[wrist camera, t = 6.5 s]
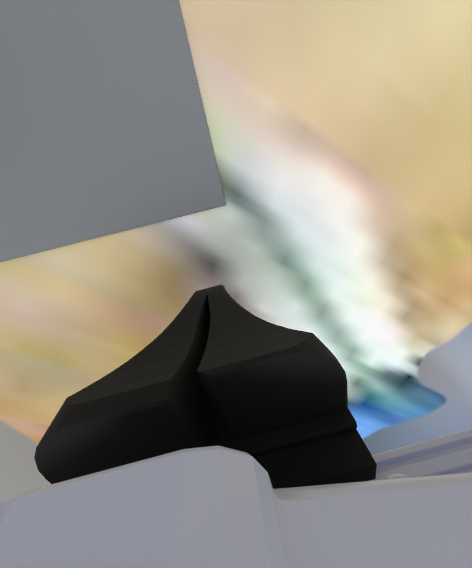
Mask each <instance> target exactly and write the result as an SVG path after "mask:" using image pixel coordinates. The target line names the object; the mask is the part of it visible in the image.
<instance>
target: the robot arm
mask: <svg viewBox="0 0 472 568" xmlns="http://www.w3.org/2000/svg"><path fill="white" fill-rule="evenodd" d="M356 428H357V424H356V421H355V419H354V418H353V416H352V414H351V413H350V411H349V409H348V398H347V378H346V374H345V371H344V369H343V368H342V366H341V364H340V363H339V362H338V360H337V359H336V357H335V356H334V355H333V354H332V353H331V351H330V350H329V349H328V348H327V347H326V346H325V345H324V344H323V343H322V342H321V341H320V340H319V339H318V338H317V337H316V336H315V335H314V334H313V333H309V332H304V331H298V330H293V329H288V328H285V327H281V326H278V325H275V324H272V323H269V322H267V321H265V320H262V319H260V318H258V317H256V316H255V315H253V314H251V313H250V312H248V311H247V310H245V309H244V308H243V307H242V306H240V305H239V304H238V303H237V302H236V301H235V300H234V299H233V298H232V297H231V296H230V295H229V294H228V293H227V291H226V290H225V287H224V286H223V285H218V286H214V287H210V288H207V289H203V290H199V291H196V292H195V293H194V294H193V296H192V297H191V298H190V300H189V301H188V303H187V304H186V305H185V307H184V308H183V309H182V311H181V312H180V313H179V314H178V315H177V317H176V318H175V319H174V320H173V321H172V323H171V324H170V325H169V326H168V327H167V328H166V329H165V330H164V331H163V332H162V333H161V334H160V335H159V336H158V337H157V338H156V339H155V340H154V341H153V342H151V343H150V344H149V345H148V346H147V347H145V348H144V349H143V350H142V351H140V352H139V353H138V354H137V355H135V356H134V357H133V358H131V359H130V360H129V361H127V362H126V363H124V364H123V365H122V366H120V367H119V368H117V369H115V370H114V371H112V372H111V373H109V374H108V375H106V376H105V377H103V378H101V379H100V380H98V381H96V382H94V383H93V384H91V385H89V386H87V387H86V388H84V389H82V390H80V391H79V392H77V393H75V394H73V395H72V396H70V397H68V398H66V400H65V402H64V403H63V405H62V407H61V408H60V410H59V412H58V413H57V415H56V416H55V418H54V420H53V421H52V423H51V425H50V426H49V428H48V430H47V431H46V433H45V434H44V436H43V438H42V439H41V441H40V443H39V444H38V446H37V447H36V452H35V461H36V465H37V468H38V470H39V472H40V473H41V474H42V475H43V476H44V477H45V478H46V480H48V481H49V482H50V483H51V485H47V486H44V487H40V488H36V489H33V490H29V491H26V492H24V493H21V494H20V495H17V496H15V497H13V498H11V499H9V500H7V501H5V502H3V503H1V504H0V568H472V428H471V429H468V430H464V431H461V432H457V433H453V434H449V435H445V436H442V437H438V438H434V439H430V440H427V441H423V442H419V443H416V444H412V445H408V446H405V447H401V448H397V449H393V450H390V451H386V452H383V453H379V454H375V455H371V454H370V452H369V450H368V448H367V447H366V445H365V443H364V442H363V440H362V438H361V436H360V435H359V433H358V431H357V430H356Z"/></svg>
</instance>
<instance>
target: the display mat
mask: <svg viewBox="0 0 472 568" xmlns="http://www.w3.org/2000/svg"><path fill="white" fill-rule="evenodd" d="M224 205H226V203H225V199H224V194H223V190H222V186H221V181H220V177H219V173H218V169H217V164H216V160H215V156H214V151H213V147H212V143H211V138H210V134H209V130H208V125H207V121H206V117H205V113H204V108H203V104H202V100H201V95H200V91H199V87H198V82H197V78H196V74H195V69H194V65H193V61H192V57H191V52H190V48H189V44H188V39H187V35H186V31H185V26H184V22H183V18H182V14H181V9H180V5H179V1H178V0H0V262H2V261H6V260H10V259H14V258H18V257H22V256H26V255H30V254H34V253H38V252H42V251H46V250H50V249H54V248H58V247H62V246H66V245H70V244H74V243H78V242H82V241H86V240H90V239H94V238H97V237H101V236H105V235H109V234H113V233H117V232H121V231H125V230H129V229H133V228H137V227H141V226H145V225H149V224H153V223H157V222H161V221H165V220H169V219H173V218H177V217H181V216H185V215H189V214H193V213H197V212H201V211H205V210H208V209H212V208H216V207H220V206H224Z"/></svg>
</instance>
